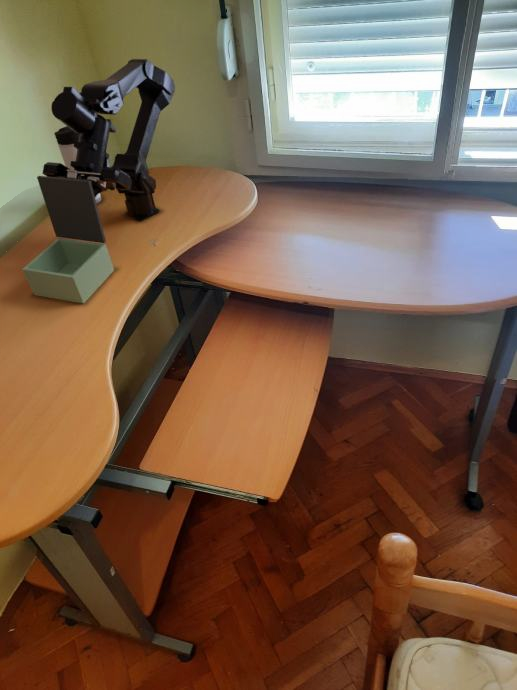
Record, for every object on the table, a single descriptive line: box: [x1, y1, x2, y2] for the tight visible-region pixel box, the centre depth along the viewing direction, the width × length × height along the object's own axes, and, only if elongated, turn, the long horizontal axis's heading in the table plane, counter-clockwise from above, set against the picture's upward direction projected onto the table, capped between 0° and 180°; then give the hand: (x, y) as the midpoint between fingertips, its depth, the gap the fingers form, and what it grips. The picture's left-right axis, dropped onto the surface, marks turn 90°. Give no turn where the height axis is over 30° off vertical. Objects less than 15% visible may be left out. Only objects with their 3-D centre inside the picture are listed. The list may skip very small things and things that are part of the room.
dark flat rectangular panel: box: [36, 175, 107, 244], centre depth 97 cm, size 13×12×1 cm
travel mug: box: [54, 125, 102, 205], centre depth 123 cm, size 6×7×20 cm
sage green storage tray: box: [21, 237, 115, 305], centre depth 100 cm, size 12×12×7 cm
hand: (80, 215), depth 100 cm, fingers closed
